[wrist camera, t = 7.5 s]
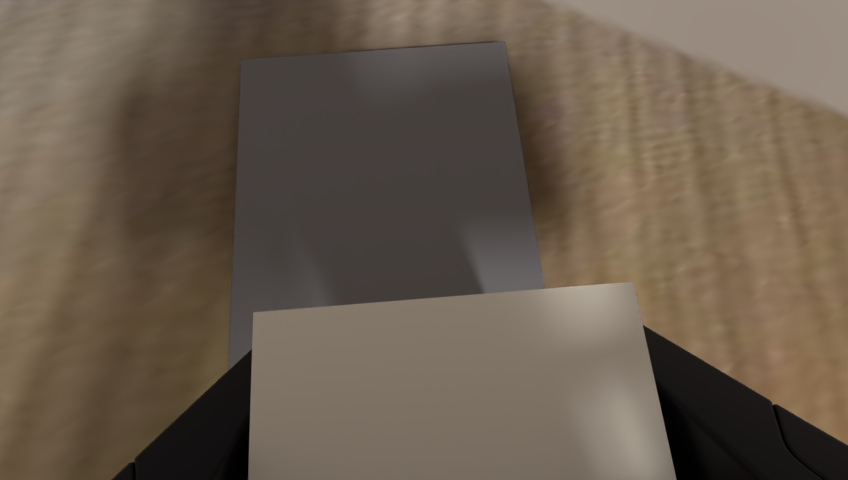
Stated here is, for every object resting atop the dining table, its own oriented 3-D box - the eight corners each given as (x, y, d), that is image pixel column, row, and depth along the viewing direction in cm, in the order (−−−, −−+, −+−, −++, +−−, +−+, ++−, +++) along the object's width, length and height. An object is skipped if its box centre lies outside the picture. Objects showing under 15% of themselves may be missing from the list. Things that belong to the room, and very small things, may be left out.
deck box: (510, 409, 14) (687, 525, 5) (364, 421, 14) (245, 567, 4) (500, 324, 15) (632, 279, 5) (361, 335, 14) (253, 310, 5)
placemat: (579, 539, 14) (586, 547, 13) (228, 573, 14) (219, 583, 13) (502, 50, 19) (504, 41, 18) (246, 68, 19) (240, 59, 18)
